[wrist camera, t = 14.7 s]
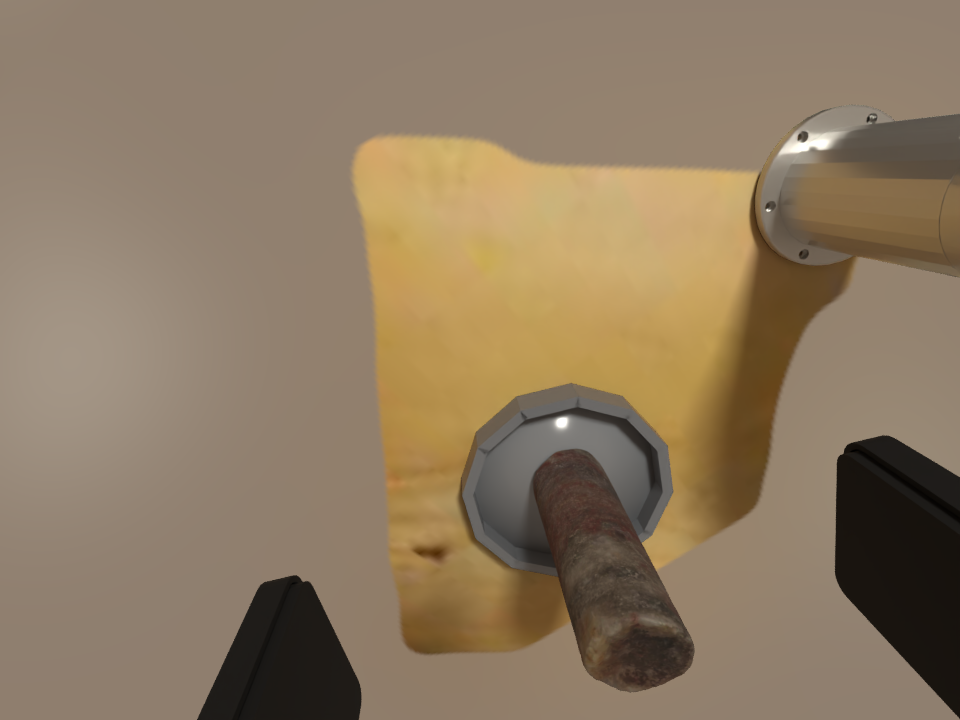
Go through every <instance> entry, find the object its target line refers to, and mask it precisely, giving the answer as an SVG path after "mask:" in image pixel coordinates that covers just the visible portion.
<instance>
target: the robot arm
mask: <svg viewBox="0 0 960 720" xmlns="http://www.w3.org/2000/svg"><path fill="white" fill-rule="evenodd" d="M797 138H798V139H797ZM766 204H767V206H766ZM765 206H766V208H765ZM755 214H756V219H757V224H758V227H759V230H760V232H761V234H762V237H763V238H764V240H765V241H766V242H767V244H768V245H769V247H770V248H771V249H773V250H774V251H775V252H776V253H777V254H778V255H780V256H782V257H784V258H786V259H788V260H790V261H793V262H796V263H800V264H805V265H812V266H819V265H829V264H833V263H838V262H841V261H844V260H846V259H848V258H851V257H853V256H858V257H863V258H868V259H873V260H878V261H882V262H887V263H892V264H897V265H902V266H906V267H911V268H916V269H921V270H926V271H931V272H935V273H940V274H945V275H950V276H954V277H960V114H954V115H946V116H937V117H928V118H919V119H911V120H902V121H894V119H893V118H892V117H891V116H889V115H887V114H886V113H884V112H883V111H881V110H879V109H876V108H872V107H869V106H864V105H847V106H839V107H835V108H831V109H827V110H823V111H820V112H818V113H816V114H814V115H812V116H810V117H808V118H806V119H805V120H803V121H802V122H801V123H799V124H798V125H796V126H795V127H793V128H792V129H791V130H790V131H789V132H788V133H787V134H786V135H785V136H784V137H783V138H782V139H781V140H780V142H779V143H778V144H777V146H776V147H775V148H774V150H773V151H772V152H771V154H770V156H769V158H768V159H767V161H766V163H765V165H764V167H763V170H762V172H761V175H760V178H759V180H758V184H757V190H756V195H755ZM835 547H836V548H835V575H836V579H837V582H838V584H839V586H840V588H841V590H842V591H843V593H844V594H845V595H846V597H847V598H848V599H849V600H850V601H851V602H852V603H853V604H854V605H855V606H856V607H857V608H858V610H859V611H860V612H861V613H862V614H863V615H864V616H865V617H866V618H867V619H868V620H869V621H870V623H871V624H872V625H873V626H874V627H875V628H876V629H877V630H878V631H879V632H880V633H881V634H882V635H883V637H885V639H886V640H887V641H888V642H889V643H890V644H891V645H892V646H893V647H894V648H895V649H896V651H898V653H899V654H900V655H901V656H902V657H903V658H904V659H905V660H906V661H907V662H908V663H909V664H910V666H911V667H912V668H913V669H914V670H915V671H916V672H917V673H918V674H919V675H920V676H921V677H922V678H923V680H924V681H925V682H926V683H927V684H928V685H929V686H930V687H931V688H932V689H933V690H934V691H935V692H936V693H937V695H938V696H939V697H940V698H941V699H942V700H943V701H944V702H945V703H946V704H947V705H948V706H949V708H950V709H951V710H952V711H953V712H954V713H955V714H956V715H957V716H958V717H959V718H960V477H958V476H957V475H955V474H953V473H952V472H950V471H948V470H947V469H945V468H943V467H942V466H940V465H938V464H937V463H935V462H933V461H932V460H930V459H928V458H927V457H925V456H923V455H922V454H920V453H918V452H916V451H915V450H913V449H912V448H910V447H908V446H906V445H905V444H903V443H902V442H900V441H898V440H897V439H895V438H893V437H890V436H879V437H875V438H870V439H866V440H862V441H858V442H853V443H850V444H848V445H847V446H846V448H845V449H844V454H842V455H840V456H839V457H838V460H837V492H836V546H835ZM360 708H361V688H360V684H359V681H358V679H357V677H356V675H355V673H354V671H353V669H352V667H351V665H350V662H349V660H348V658H347V656H346V654H345V652H344V650H343V648H342V646H341V644H340V642H339V640H338V638H337V635H336V633H335V631H334V629H333V627H332V625H331V623H330V621H329V619H328V617H327V615H326V613H325V611H324V609H323V606H322V605H321V602H320V600H319V598H318V596H317V594H316V592H315V590H314V588H313V586H312V585H311V583H310V582H308V581H305V582H302V581H301V579H300V578H299V577H298V576H297V575H296V576H289V577H285V578H281V579H276V580H272V581H268V582H264V583H263V584H261V585H260V587H259V588H258V590H257V592H256V594H255V596H254V598H253V601H252V603H251V605H250V607H249V609H248V611H247V613H246V616H245V618H244V620H243V622H242V624H241V626H240V629H239V631H238V633H237V635H236V637H235V639H234V641H233V644H232V646H231V648H230V650H229V652H228V654H227V656H226V659H225V661H224V663H223V665H222V667H221V669H220V672H219V674H218V676H217V678H216V680H215V682H214V685H213V687H212V689H211V691H210V693H209V695H208V697H207V699H206V702H205V704H204V706H203V708H202V710H201V713H200V714H199V717H198V719H197V720H359V714H360Z"/></svg>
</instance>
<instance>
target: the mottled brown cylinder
mask: <svg viewBox="0 0 960 720" xmlns="http://www.w3.org/2000/svg"><path fill="white" fill-rule="evenodd" d="M533 491H534V496H535V500H536V503H537V506H538V510H539V514H540V517H541V520H542V524H543V527H544V530H545V533H546V537H547V540H548V543H549V547H550V550H551V553H552V557H553V560H554V563H555V567H556V570H557V573H558V577H559V581H560V584H561V588H562V591H563V595H564V599H565V602H566V606H567V609H568V613H569V616H570V620H571V623H572V626H573V630H574V632H575V636H576V640H577V644H578V648H579V651H580V654H581V658H582V662H583V665H584V667H585V669H586V670H587V672H588V673H589V674H590V675H591V676H593V678H595V679H596V680H600V681H602V682H604V683H606V684H608V685H610V686H612V687H614V688H617V689H618V690H621V691H628V692H638V691H642V690H646V689H649V688H652V687H657V686H659V685H662V684H664V683H666V682H668V681H670V680H672V679H674V678H676V677H678V676H680V675H682V674H684V673H685V672H686V671H687V670H688V668H690V666H691V664H692V661H693V656H694V644H693V642H692V639H691V637H690V635H689V633H688V631H687V629H686V627H685V626H684V624H683V622H682V620H681V618H680V616H679V614H678V612H677V610H676V608H675V607H674V605H673V603H672V602H671V599H670V597H669V595H668V593H667V591H666V589H665V587H664V585H663V583H662V581H661V580H660V578H659V576H658V574H657V572H656V570H655V568H654V566H653V564H652V562H651V560H650V558H649V556H648V554H647V553H646V551H645V549H644V547H643V545H642V543H641V541H640V539H639V537H638V535H637V533H636V531H635V529H634V527H633V525H632V523H631V521H630V519H629V517H628V515H627V513H626V511H625V509H624V507H623V505H622V503H621V501H620V499H619V497H618V495H617V493H616V491H615V489H614V488H613V486H612V484H611V482H610V480H609V478H608V476H607V474H606V473H605V471H604V469H603V467H602V466H601V464H600V463H599V462H598V461H597V460H596V458H595V457H594V456H593V455H592V454H590V453H589V452H588V451H585V450H582V449H569V450H561V451H558V452H555V453H554V454H552V455H551V456H550V458H549V459H548V460H546V461H545V462H544V463H543V464H542V465H541V466H540V467H539V469H538V470H537V471H536V474H535V477H534V480H533Z"/></svg>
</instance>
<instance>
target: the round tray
mask: <svg viewBox="0 0 960 720" xmlns="http://www.w3.org/2000/svg"><path fill="white" fill-rule="evenodd" d="M569 449H582V450H585V451H588V452H589V453H590V454H592V455H593V456H594V457H595V458H596V460H597V461H598V462H599V463H600V464H601V466H602V467H603V469H604V471H605V473H606V474H607V476H608V478H609V480H610V482H611V484H612V486H613V488H614V489H615V491H616V493H617V495H618V497H619V499H620V501H621V503H622V505H623V507H624V509H625V511H626V513H627V515H628V517H629V519H630V521H631V523H632V525H633V527H634V529H635V531H636V533H637V535H638V537H639V539H640V541H641V543H642V542H644V541H645V540H646V539H648V538H649V537H650V536H652V534H653V532H654V530H655V528H656V526H657V524H658V522H659V520H660V518H661V516H662V514H663V512H664V510H665V508H666V506H667V504H668V502H669V500H670V498H671V496H672V494H673V486H672V478H671V470H670V462H669V454H668V446H667V445H666V443H665V442H664V441H663V440H662V438H661V437H660V436H659V434H658V433H657V432H656V431H655V430H654V429H653V428H652V427H651V426H650V424H649V423H648V422H647V421H646V420H645V419H644V418H643V417H642V416H641V415H640V414H639V413H638V412H637V411H636V410H635V409H634V408H633V407H632V405H631V404H630V403H629V402H628V401H627V400H626V399H625V398H624V397H623V396H620V395H616V394H612V393H608V392H604V391H600V390H596V389H592V388H588V387H584V386H580V385H576V384H572V383H570V384H566V385H562V386H558V387H554V388H550V389H546V390H542V391H538V392H533V393H529V394H525V395H521V396H517V397H516V398H514V399H513V400H512V401H511V402H510V403H509V404H508V405H506V406H505V407H504V408H503V409H502V410H501V411H500V412H498V413H497V414H496V415H495V416H494V417H493V418H492V419H490V420H489V421H488V422H487V423H486V424H485V425H484V426H482V427H481V428H480V429H479V430H478V431H477V432H476V434H475V437H474V440H473V444H472V447H471V450H470V453H469V456H468V459H467V462H466V465H465V468H464V471H463V475H462V496H463V499H464V503H465V506H466V509H467V512H468V516H469V519H470V522H471V525H472V528H473V532H474V535H475V538H476V539H477V540H478V541H479V542H480V543H482V544H483V545H484V546H485V547H487V548H488V549H489V550H490V551H492V552H493V553H494V554H495V555H497V556H498V557H499V558H500V559H502V560H503V561H504V562H505V563H507V564H508V565H509V566H510V567H511V568H515V569H521V570H526V571H531V572H536V573H541V574H547V575H552V576H557V577H558V573H557V570H556V567H555V563H554V560H553V557H552V553H551V550H550V547H549V543H548V540H547V537H546V533H545V530H544V527H543V524H542V520H541V517H540V514H539V510H538V506H537V503H536V500H535V496H534V491H533V480H534V477H535V474H536V471H537V470H538V469H539V467H540V466H541V465H542V464H543V463H544V462H545V461H546V460H548V459H549V458H550V456H551V455H552V454H554V453H555V452H558V451H561V450H569Z"/></svg>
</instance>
